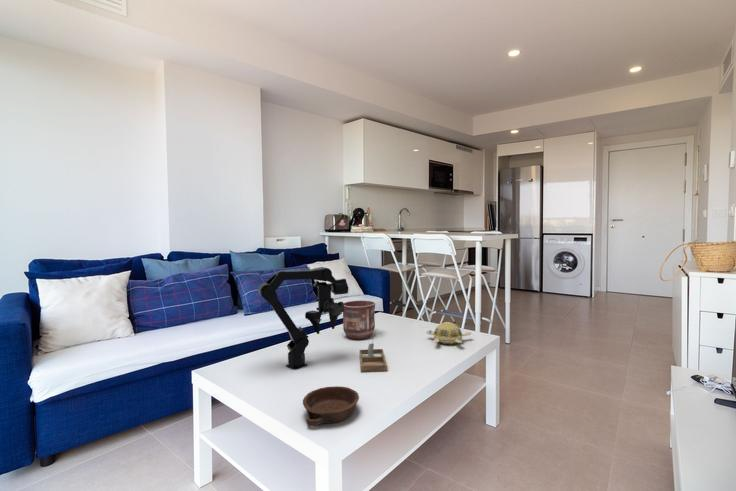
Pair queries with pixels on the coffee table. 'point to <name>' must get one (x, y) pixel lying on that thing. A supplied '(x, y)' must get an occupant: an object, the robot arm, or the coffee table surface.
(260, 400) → the coffee table surface
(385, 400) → the coffee table surface
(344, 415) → the dish
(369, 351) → the lighter
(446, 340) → the decorative figurine
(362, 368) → the organiser
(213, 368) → the coffee table surface
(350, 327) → the pottery
